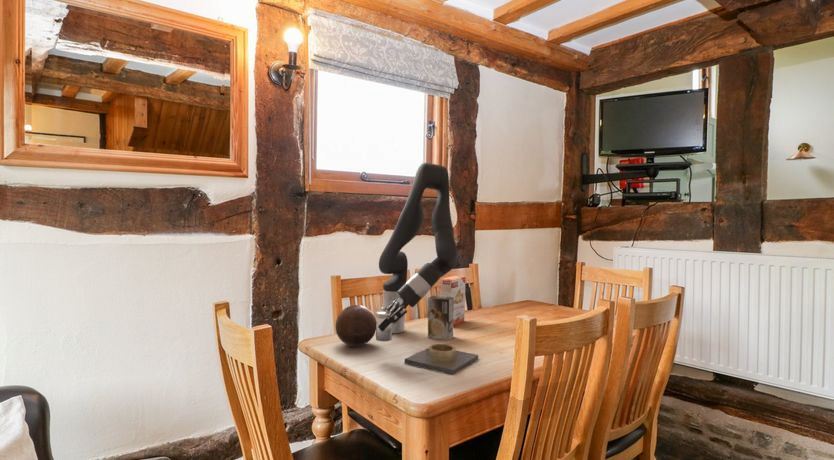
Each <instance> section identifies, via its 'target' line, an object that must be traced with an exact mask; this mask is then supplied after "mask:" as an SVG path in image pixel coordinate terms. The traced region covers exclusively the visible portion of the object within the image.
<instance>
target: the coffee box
mask: <svg viewBox="0 0 834 460" xmlns="http://www.w3.org/2000/svg"><path fill="white" fill-rule="evenodd" d="M427 298H428V299H427V300H428V301H427V307H428V308H427V338H428V339H434V340H435V339H436V340H441V341H450V340H452V339H453V338H454V326H453V297H444V296H441V295H431V296H430V297H427Z"/></svg>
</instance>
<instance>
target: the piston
mask: <svg viewBox="0 0 834 460" xmlns="http://www.w3.org/2000/svg"><path fill="white" fill-rule="evenodd" d="M388 315H389V311H381V310H378V311H376V315H375V319H376V331H375V340H376V341H378V342H389V341H392V339H393V338H392V336H393V333H392V324H390V325H389V326H388V327H387V328H386V329H385V330H384V331H381V330H380V329H379V328H378V326H379V325H380V324H381V323H382V322H383V321H384V320H385V319H386V318H387V316H388Z"/></svg>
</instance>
